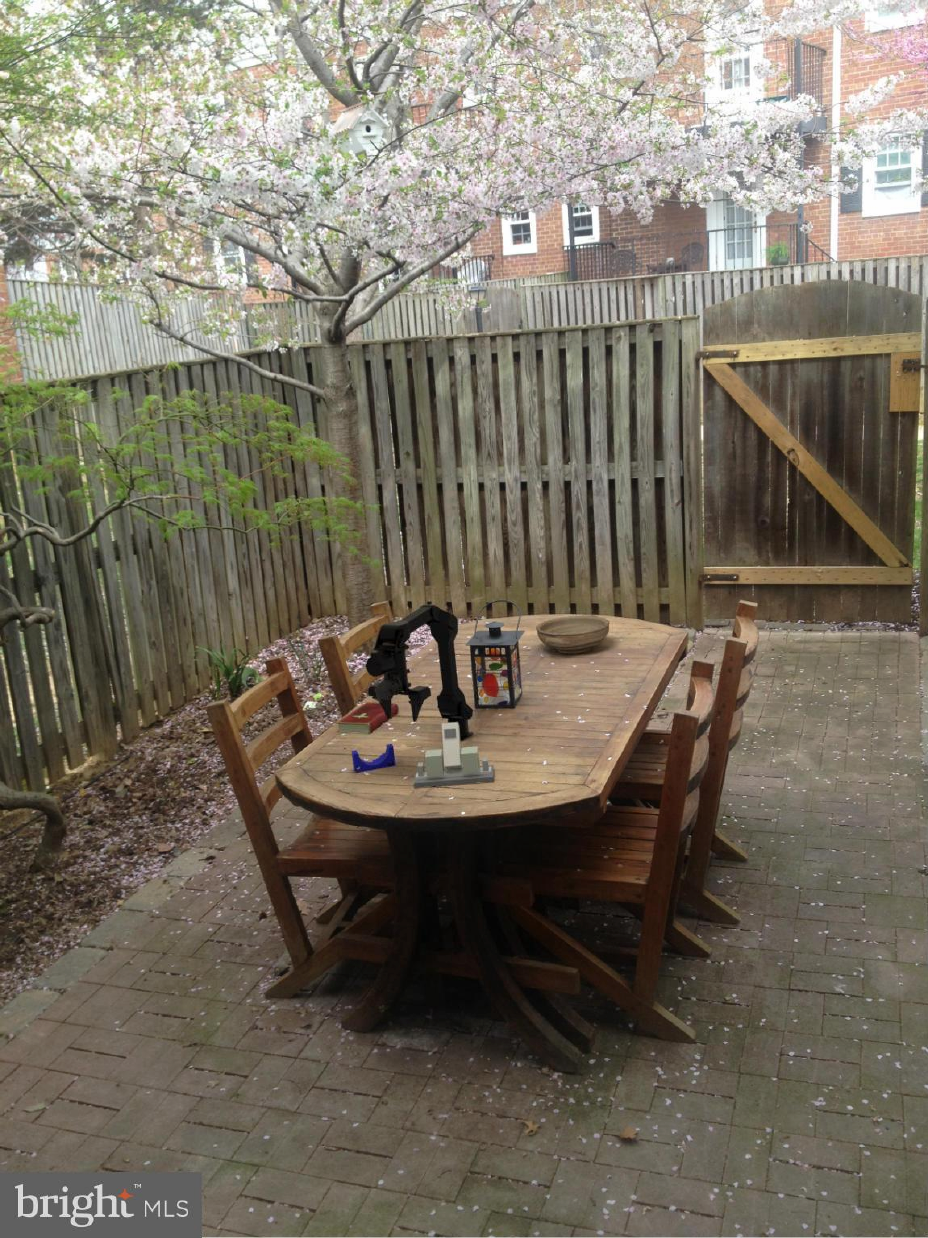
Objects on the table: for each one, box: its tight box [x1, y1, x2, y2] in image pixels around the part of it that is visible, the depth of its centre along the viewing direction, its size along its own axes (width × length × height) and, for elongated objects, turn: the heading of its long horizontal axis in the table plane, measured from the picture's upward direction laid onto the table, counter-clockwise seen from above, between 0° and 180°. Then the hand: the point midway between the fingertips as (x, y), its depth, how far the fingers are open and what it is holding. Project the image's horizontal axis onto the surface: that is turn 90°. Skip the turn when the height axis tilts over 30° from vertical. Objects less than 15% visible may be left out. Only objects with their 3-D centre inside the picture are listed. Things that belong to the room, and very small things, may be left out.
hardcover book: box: [336, 701, 400, 735], centre depth 354 cm, size 12×21×4 cm, turn 157°
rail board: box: [413, 745, 495, 789], centre depth 297 cm, size 9×22×8 cm, turn 88°
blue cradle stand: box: [351, 743, 397, 774], centre depth 313 cm, size 12×4×6 cm, turn 106°
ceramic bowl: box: [535, 614, 610, 654], centre depth 418 cm, size 37×29×10 cm
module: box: [441, 722, 462, 769], centre depth 299 cm, size 5×4×12 cm
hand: (401, 720), depth 306 cm, fingers open, 9 cm apart
